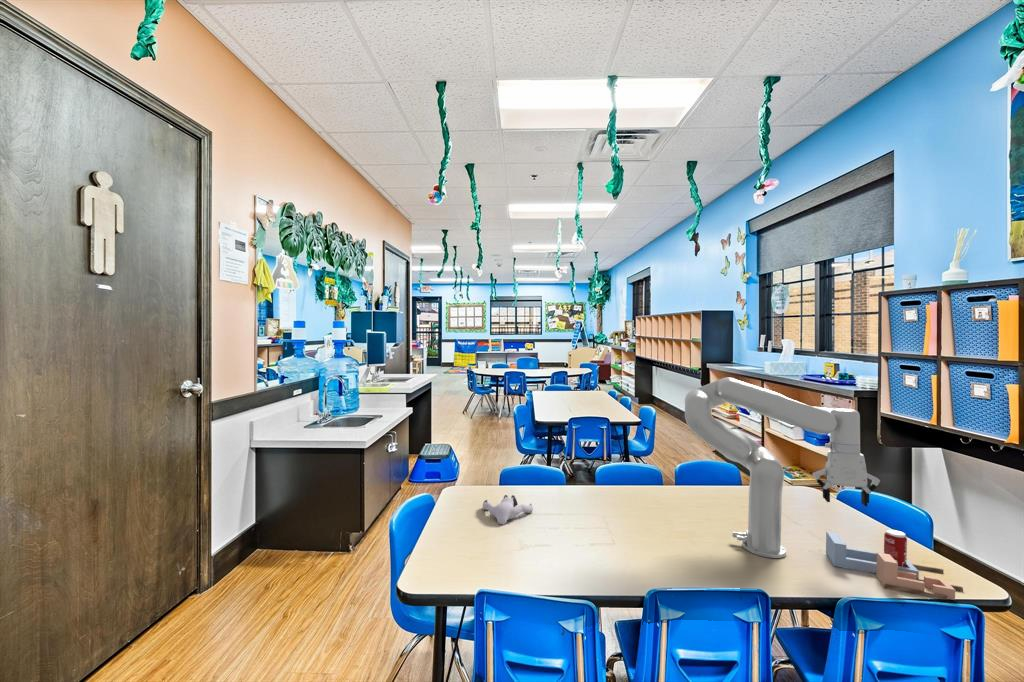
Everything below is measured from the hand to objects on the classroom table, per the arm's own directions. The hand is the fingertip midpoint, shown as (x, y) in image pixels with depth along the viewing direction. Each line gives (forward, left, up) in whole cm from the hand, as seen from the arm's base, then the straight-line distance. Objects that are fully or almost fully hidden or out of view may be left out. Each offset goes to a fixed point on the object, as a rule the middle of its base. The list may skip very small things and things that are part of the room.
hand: (845, 502), depth 141 cm
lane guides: (+16, -4, -19) cm, 25 cm away
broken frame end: (+19, -10, -19) cm, 29 cm away
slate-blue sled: (+7, 0, -18) cm, 20 cm away
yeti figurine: (-111, -11, -19) cm, 114 cm away
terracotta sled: (+11, -10, -18) cm, 23 cm away
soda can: (+13, 0, -19) cm, 23 cm away
